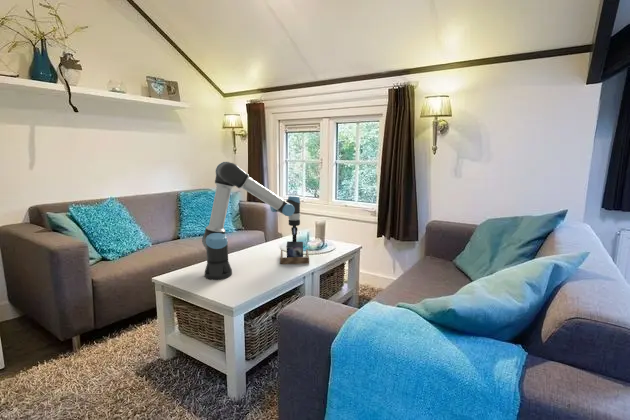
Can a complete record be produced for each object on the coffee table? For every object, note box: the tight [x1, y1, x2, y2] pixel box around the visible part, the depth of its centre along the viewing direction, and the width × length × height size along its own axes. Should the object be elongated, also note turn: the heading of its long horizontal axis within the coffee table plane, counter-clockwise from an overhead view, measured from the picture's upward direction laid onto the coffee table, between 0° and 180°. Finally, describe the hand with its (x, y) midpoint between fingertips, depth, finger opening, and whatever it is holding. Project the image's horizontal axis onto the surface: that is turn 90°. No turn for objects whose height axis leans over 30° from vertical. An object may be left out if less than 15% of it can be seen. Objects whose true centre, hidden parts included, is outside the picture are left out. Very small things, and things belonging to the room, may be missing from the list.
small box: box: [286, 240, 304, 257], centre depth 222 cm, size 11×6×10 cm, turn 89°
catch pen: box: [279, 248, 310, 265], centre depth 222 cm, size 18×18×4 cm
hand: (294, 253), depth 228 cm, fingers closed
